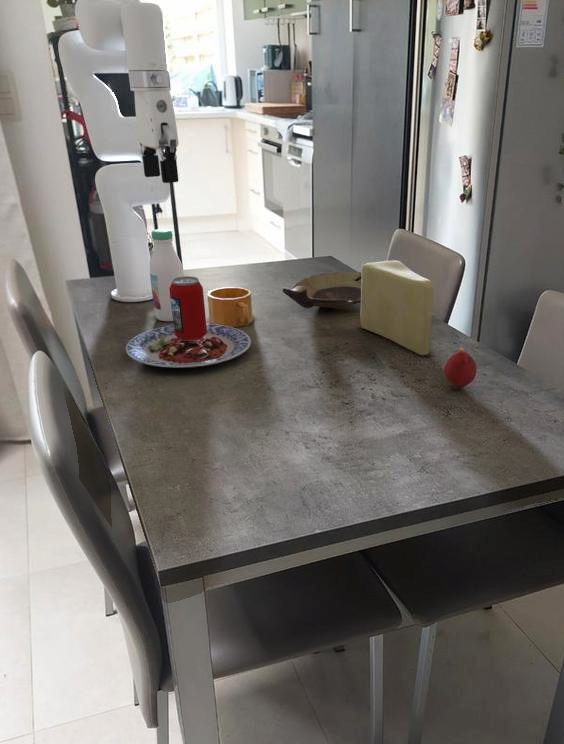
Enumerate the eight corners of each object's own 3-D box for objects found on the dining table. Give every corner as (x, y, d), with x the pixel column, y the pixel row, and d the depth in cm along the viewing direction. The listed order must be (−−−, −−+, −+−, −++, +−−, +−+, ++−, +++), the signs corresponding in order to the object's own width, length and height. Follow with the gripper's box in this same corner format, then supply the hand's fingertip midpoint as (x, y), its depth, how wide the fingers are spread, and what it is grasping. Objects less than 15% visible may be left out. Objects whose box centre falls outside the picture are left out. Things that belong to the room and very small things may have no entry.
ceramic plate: (273, 342, 152) (272, 329, 151) (207, 385, 132) (206, 370, 131) (176, 326, 161) (174, 314, 160) (100, 363, 141) (98, 350, 140)
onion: (476, 384, 132) (481, 344, 128) (471, 396, 128) (476, 355, 124) (446, 380, 134) (449, 341, 130) (440, 392, 129) (443, 351, 125)
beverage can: (176, 332, 149) (170, 275, 143) (208, 331, 149) (203, 275, 143) (173, 342, 143) (166, 284, 137) (206, 342, 144) (200, 284, 138)
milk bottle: (191, 312, 170) (182, 227, 160) (183, 322, 164) (173, 234, 153) (161, 311, 171) (150, 226, 161) (151, 321, 164) (139, 233, 154)
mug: (203, 318, 167) (200, 291, 163) (240, 311, 171) (239, 284, 168) (228, 334, 157) (226, 305, 154) (267, 326, 162) (265, 298, 158)
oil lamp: (401, 307, 173) (402, 277, 169) (292, 326, 162) (291, 293, 158) (357, 286, 190) (358, 257, 186) (256, 300, 179) (254, 270, 175)
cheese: (446, 352, 147) (452, 281, 139) (406, 359, 143) (410, 287, 135) (395, 322, 164) (398, 257, 156) (358, 327, 160) (360, 261, 153)
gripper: (186, 82, 127) (195, 183, 136) (152, 80, 140) (163, 173, 149) (147, 83, 124) (159, 186, 133) (115, 81, 136) (129, 175, 145)
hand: (161, 179), depth 141 cm, fingers open, 9 cm apart
